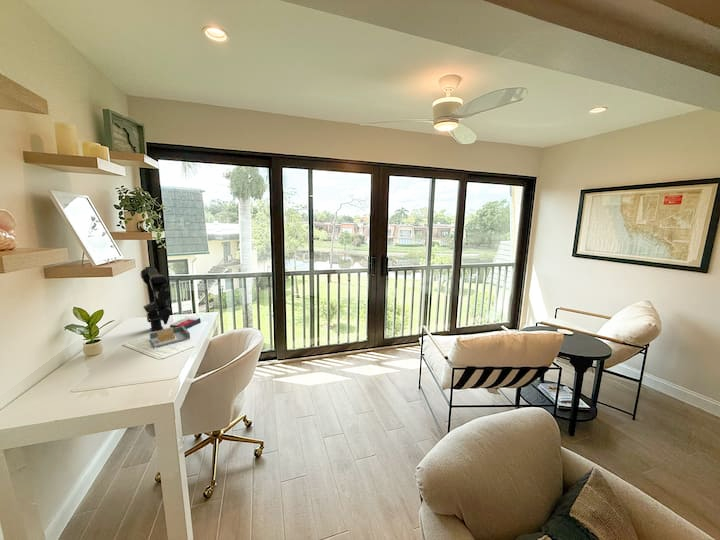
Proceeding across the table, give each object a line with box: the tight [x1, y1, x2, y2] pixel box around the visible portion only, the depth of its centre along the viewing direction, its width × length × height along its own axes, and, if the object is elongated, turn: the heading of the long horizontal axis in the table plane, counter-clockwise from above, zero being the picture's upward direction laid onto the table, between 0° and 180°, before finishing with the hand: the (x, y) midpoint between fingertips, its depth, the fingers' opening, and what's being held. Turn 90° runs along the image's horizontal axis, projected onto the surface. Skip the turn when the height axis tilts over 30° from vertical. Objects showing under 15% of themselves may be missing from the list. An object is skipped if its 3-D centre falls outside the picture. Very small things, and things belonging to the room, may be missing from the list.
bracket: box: [156, 327, 175, 343], centre depth 173 cm, size 8×5×6 cm, turn 133°
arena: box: [149, 326, 191, 348], centre depth 176 cm, size 16×18×4 cm
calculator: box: [169, 316, 202, 330], centre depth 198 cm, size 11×4×15 cm
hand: (164, 322), depth 173 cm, fingers open, 9 cm apart
